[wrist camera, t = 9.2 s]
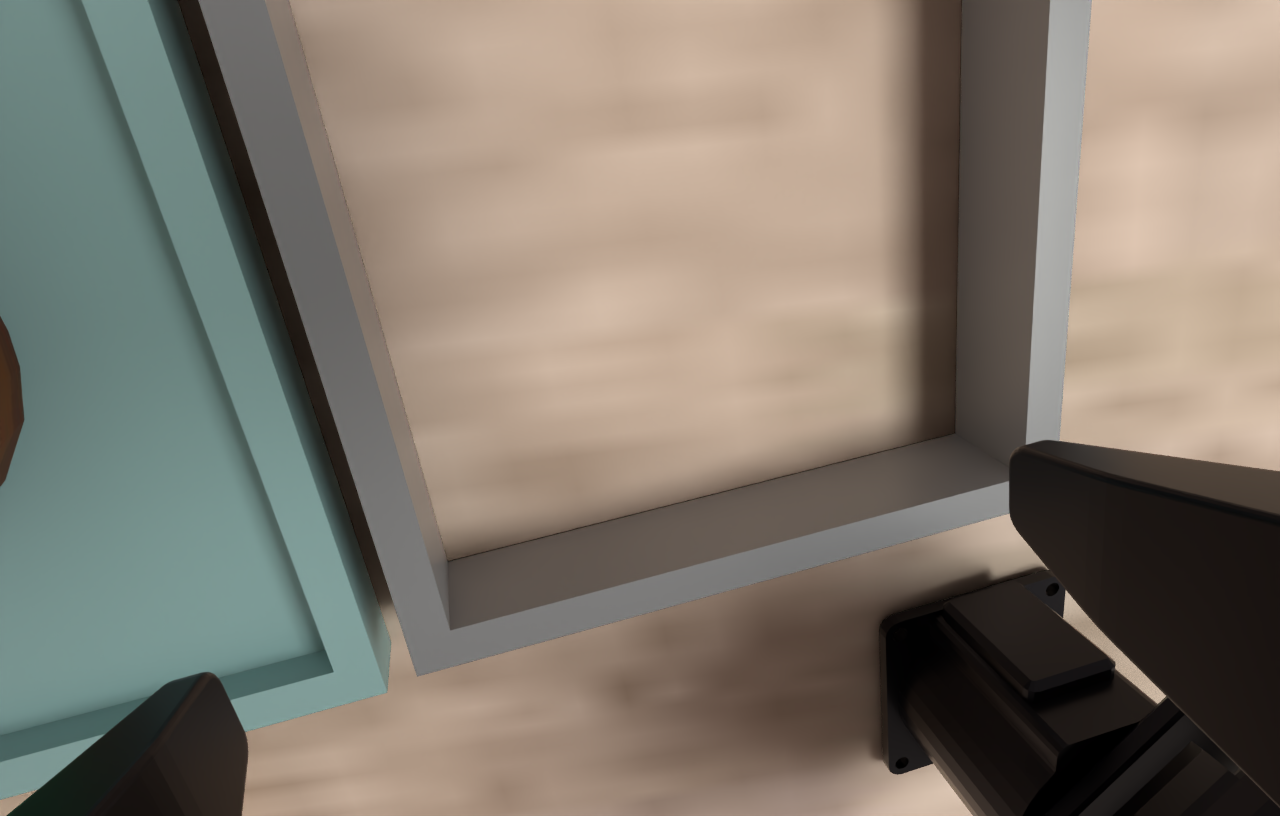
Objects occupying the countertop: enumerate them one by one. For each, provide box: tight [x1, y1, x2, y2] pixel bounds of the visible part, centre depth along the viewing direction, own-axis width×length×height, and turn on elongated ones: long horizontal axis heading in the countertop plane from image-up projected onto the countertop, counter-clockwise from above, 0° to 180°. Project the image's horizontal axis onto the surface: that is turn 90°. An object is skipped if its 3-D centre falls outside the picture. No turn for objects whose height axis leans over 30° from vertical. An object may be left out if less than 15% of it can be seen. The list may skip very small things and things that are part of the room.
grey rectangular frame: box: [198, 0, 1092, 676], centre depth 17 cm, size 22×17×3 cm
